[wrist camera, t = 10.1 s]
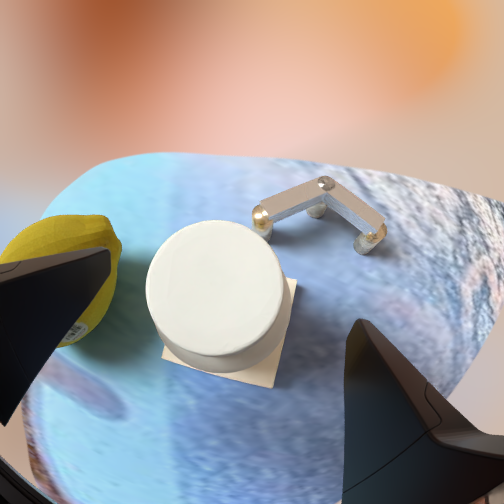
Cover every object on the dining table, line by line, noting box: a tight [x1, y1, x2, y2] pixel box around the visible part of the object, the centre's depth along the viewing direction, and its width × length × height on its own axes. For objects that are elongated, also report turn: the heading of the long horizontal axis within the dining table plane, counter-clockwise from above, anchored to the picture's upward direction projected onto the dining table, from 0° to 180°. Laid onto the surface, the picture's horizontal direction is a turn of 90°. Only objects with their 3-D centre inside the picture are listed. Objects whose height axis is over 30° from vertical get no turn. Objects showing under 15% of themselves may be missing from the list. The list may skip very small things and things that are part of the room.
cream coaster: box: [161, 278, 297, 388], centre depth 17 cm, size 7×7×1 cm
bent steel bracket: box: [252, 176, 387, 255], centre depth 18 cm, size 4×9×4 cm, turn 76°
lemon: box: [0, 215, 122, 348], centre depth 14 cm, size 11×8×8 cm
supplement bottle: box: [146, 220, 291, 373], centre depth 12 cm, size 5×5×10 cm
